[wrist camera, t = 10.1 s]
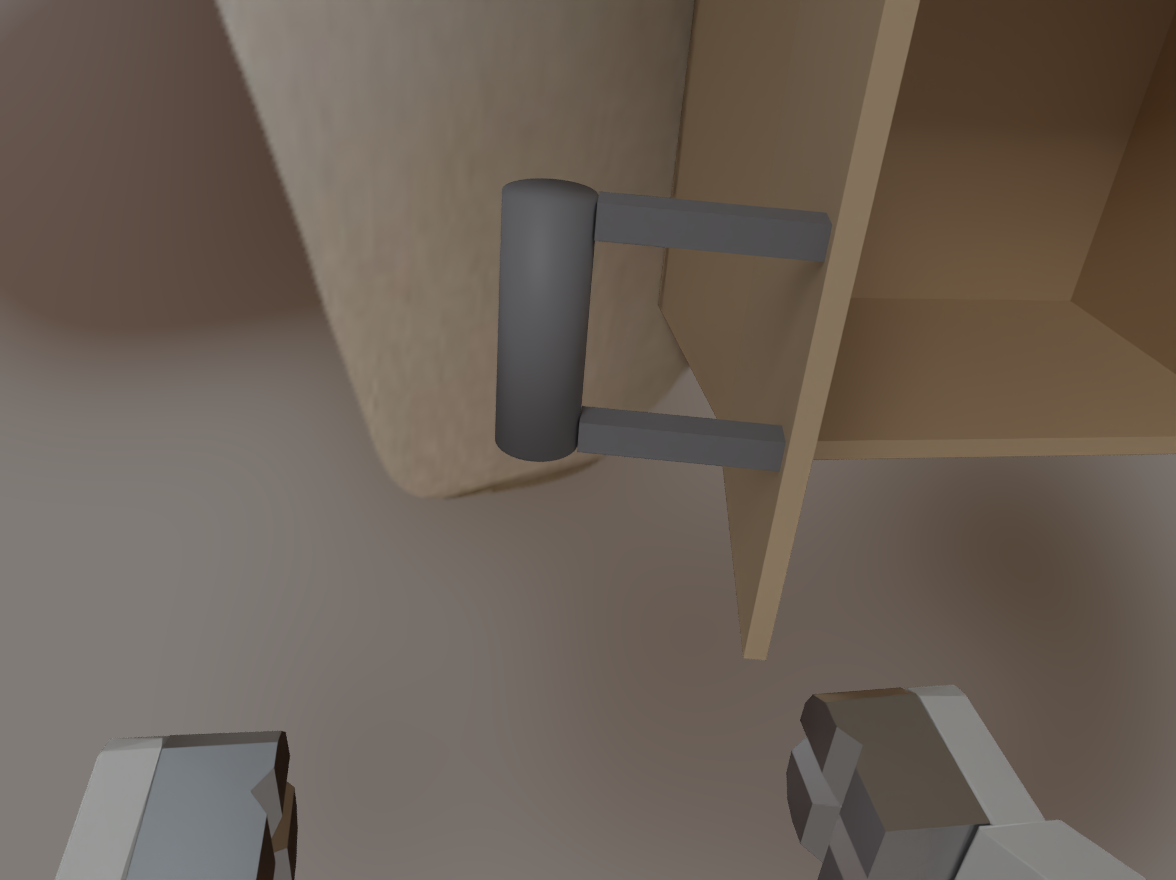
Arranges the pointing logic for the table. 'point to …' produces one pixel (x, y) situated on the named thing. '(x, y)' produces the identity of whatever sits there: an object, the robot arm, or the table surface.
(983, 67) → the carton
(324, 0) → the table surface
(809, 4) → the flap
